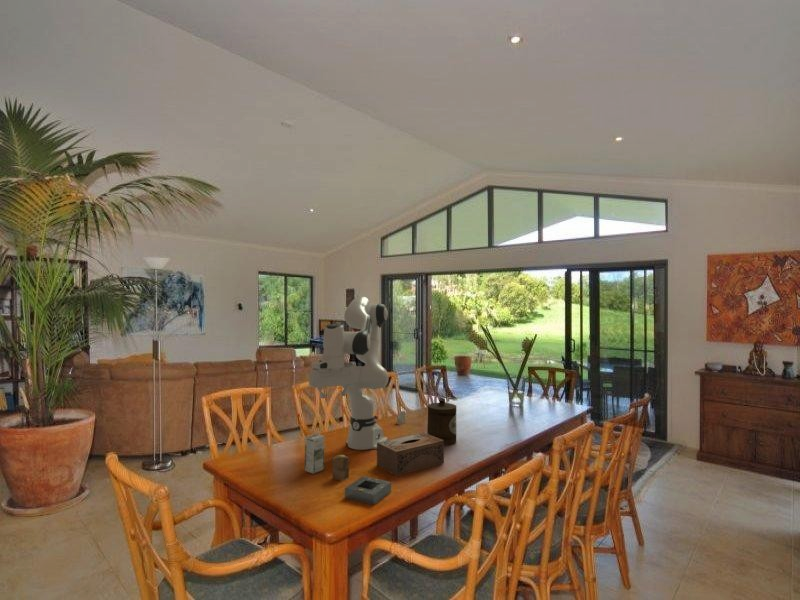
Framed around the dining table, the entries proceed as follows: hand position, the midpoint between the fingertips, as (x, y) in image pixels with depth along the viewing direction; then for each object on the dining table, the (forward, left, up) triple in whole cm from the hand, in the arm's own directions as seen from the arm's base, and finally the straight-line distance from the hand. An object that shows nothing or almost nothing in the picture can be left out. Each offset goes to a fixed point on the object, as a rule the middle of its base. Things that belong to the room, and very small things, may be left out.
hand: (333, 396), depth 177 cm
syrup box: (+1, -9, -32) cm, 33 cm away
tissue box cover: (-25, +23, -32) cm, 47 cm away
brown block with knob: (+2, +5, -31) cm, 32 cm away
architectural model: (-81, -10, -32) cm, 88 cm away
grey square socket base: (+10, +23, -31) cm, 40 cm away
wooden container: (-61, +23, -32) cm, 73 cm away
